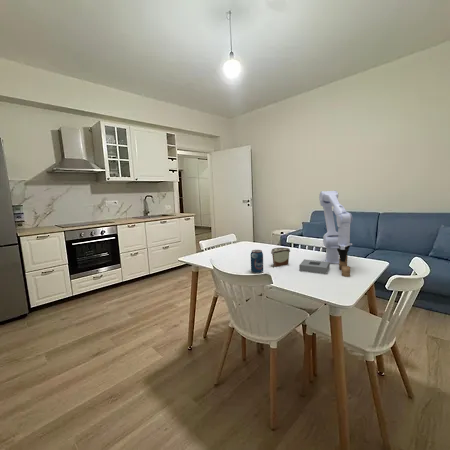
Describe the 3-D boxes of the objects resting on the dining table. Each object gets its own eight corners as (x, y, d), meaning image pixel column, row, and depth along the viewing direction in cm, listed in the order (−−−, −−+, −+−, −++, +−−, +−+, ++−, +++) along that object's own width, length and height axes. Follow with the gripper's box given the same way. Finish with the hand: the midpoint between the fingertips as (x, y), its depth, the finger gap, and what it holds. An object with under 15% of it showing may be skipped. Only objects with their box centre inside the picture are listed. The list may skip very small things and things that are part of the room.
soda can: (256, 274, 134) (256, 253, 132) (248, 271, 139) (247, 250, 137) (266, 271, 138) (265, 250, 136) (257, 268, 143) (256, 248, 142)
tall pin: (339, 267, 139) (339, 254, 138) (347, 268, 137) (347, 254, 136) (338, 269, 135) (339, 255, 134) (346, 270, 133) (347, 256, 132)
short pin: (341, 273, 129) (341, 265, 129) (350, 274, 127) (350, 266, 127) (341, 276, 126) (341, 267, 125) (349, 277, 124) (350, 268, 123)
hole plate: (304, 265, 147) (304, 259, 146) (329, 267, 139) (329, 261, 139) (299, 270, 136) (299, 264, 136) (326, 274, 129) (326, 267, 129)
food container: (284, 262, 154) (284, 246, 153) (290, 264, 149) (290, 248, 147) (267, 264, 150) (267, 248, 149) (272, 267, 144) (272, 251, 143)
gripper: (351, 238, 125) (350, 264, 127) (352, 233, 138) (352, 257, 139) (336, 237, 129) (335, 262, 130) (339, 233, 141) (338, 256, 143)
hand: (343, 259), depth 135 cm, fingers open, 7 cm apart
